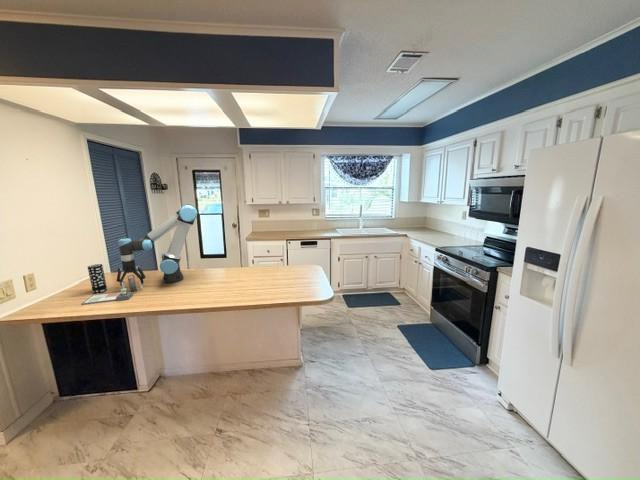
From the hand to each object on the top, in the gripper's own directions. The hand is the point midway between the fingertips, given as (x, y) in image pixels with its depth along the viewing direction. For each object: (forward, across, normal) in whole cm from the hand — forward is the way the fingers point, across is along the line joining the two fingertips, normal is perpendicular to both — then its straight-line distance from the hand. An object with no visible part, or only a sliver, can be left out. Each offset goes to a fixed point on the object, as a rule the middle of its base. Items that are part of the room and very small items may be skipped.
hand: (133, 289), depth 196 cm
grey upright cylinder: (+2, 0, 0) cm, 2 cm away
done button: (-1, +1, +12) cm, 13 cm away
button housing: (+2, +1, +12) cm, 13 cm away
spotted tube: (+2, +24, -8) cm, 25 cm away
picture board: (+2, +15, +8) cm, 17 cm away
